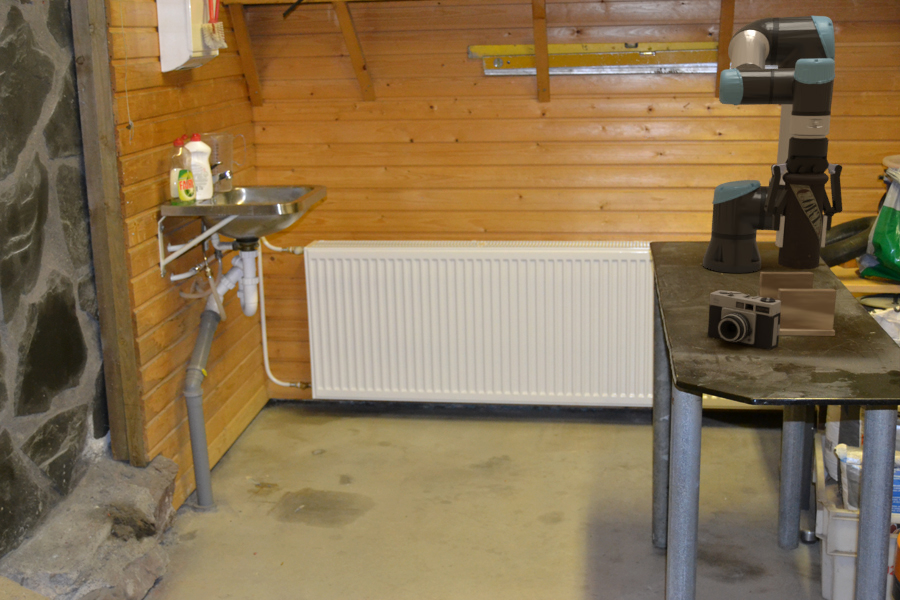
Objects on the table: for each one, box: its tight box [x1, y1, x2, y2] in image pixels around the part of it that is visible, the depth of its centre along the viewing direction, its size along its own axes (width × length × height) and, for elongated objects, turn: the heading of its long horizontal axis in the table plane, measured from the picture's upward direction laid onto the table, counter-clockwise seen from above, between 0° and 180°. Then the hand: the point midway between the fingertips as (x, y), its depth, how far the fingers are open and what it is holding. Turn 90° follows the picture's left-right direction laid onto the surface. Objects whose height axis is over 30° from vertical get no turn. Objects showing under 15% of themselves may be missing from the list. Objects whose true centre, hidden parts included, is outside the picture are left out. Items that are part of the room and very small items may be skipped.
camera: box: [707, 289, 781, 351], centre depth 178 cm, size 14×9×10 cm, turn 37°
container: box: [777, 172, 830, 270], centre depth 186 cm, size 9×9×20 cm
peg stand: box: [758, 271, 837, 337], centre depth 191 cm, size 20×11×9 cm, turn 175°
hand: (799, 245), depth 188 cm, fingers closed on container, 8 cm apart
